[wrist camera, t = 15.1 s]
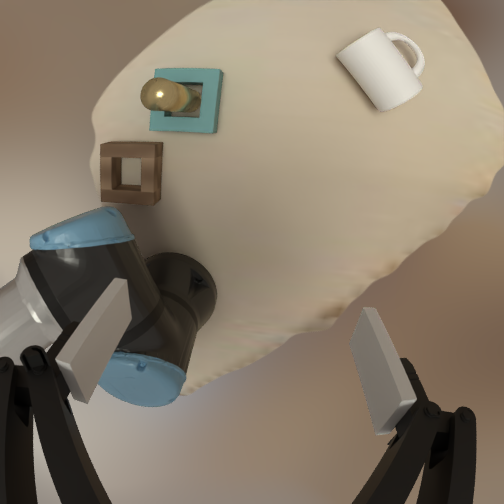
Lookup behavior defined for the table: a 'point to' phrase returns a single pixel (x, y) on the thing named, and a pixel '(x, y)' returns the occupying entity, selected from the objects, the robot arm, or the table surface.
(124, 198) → the mount block
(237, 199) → the table surface
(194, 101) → the pin
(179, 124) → the socket block
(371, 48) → the mug
